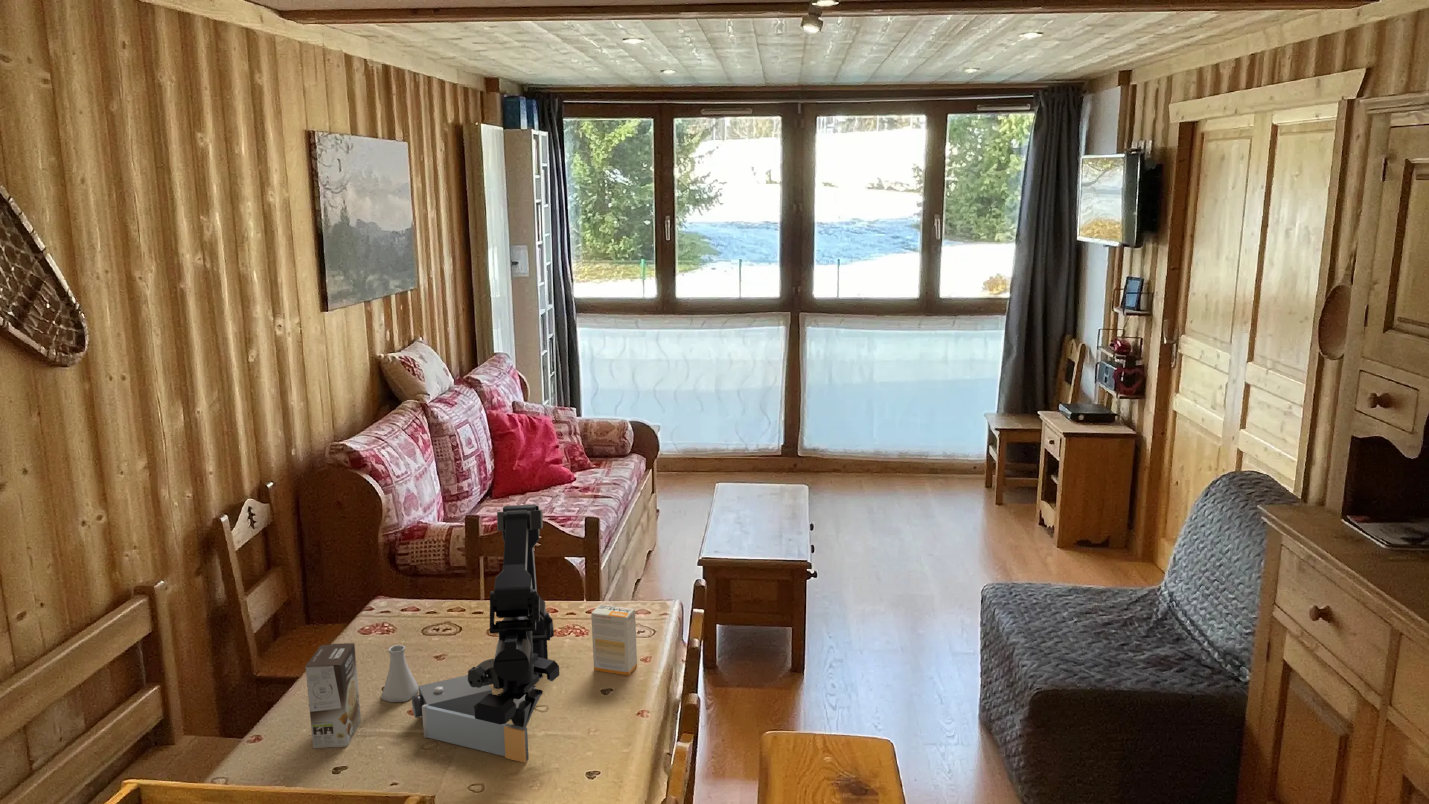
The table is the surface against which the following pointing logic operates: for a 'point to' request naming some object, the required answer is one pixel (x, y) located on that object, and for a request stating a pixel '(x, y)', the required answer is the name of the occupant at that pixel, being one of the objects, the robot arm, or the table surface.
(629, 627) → the supplement box
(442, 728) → the side door
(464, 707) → the camera housing
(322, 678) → the coffee box
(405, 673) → the flask
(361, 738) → the table surface
